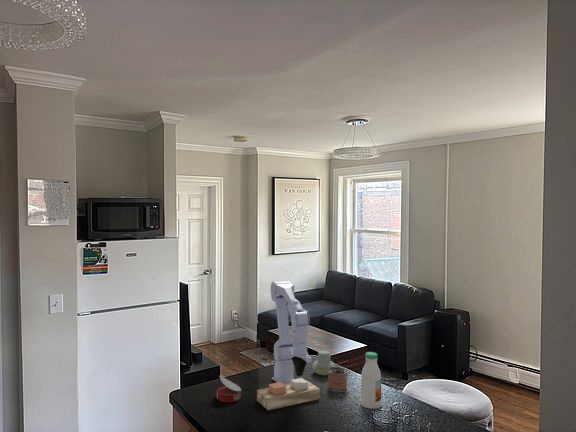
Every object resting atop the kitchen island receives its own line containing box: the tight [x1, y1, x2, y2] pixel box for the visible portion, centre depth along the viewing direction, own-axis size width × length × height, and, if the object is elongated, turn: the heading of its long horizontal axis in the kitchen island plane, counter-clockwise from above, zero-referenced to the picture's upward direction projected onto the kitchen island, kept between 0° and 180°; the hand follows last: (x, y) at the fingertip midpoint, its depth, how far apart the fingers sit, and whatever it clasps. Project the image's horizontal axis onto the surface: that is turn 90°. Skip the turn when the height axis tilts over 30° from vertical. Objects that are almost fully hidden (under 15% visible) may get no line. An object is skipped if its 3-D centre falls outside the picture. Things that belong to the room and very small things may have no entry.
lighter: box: [327, 365, 348, 393], centre depth 178 cm, size 8×3×10 cm, turn 84°
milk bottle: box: [360, 351, 382, 410], centre depth 164 cm, size 8×8×20 cm
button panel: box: [256, 379, 321, 411], centre depth 168 cm, size 10×23×4 cm, turn 119°
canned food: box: [216, 374, 242, 403], centre depth 169 cm, size 11×10×10 cm
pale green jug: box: [311, 349, 337, 377], centre depth 198 cm, size 11×8×10 cm
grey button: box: [291, 377, 309, 391], centre depth 170 cm, size 5×5×3 cm
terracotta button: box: [268, 382, 286, 396], centre depth 165 cm, size 5×5×3 cm
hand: (299, 375), depth 170 cm, fingers closed
